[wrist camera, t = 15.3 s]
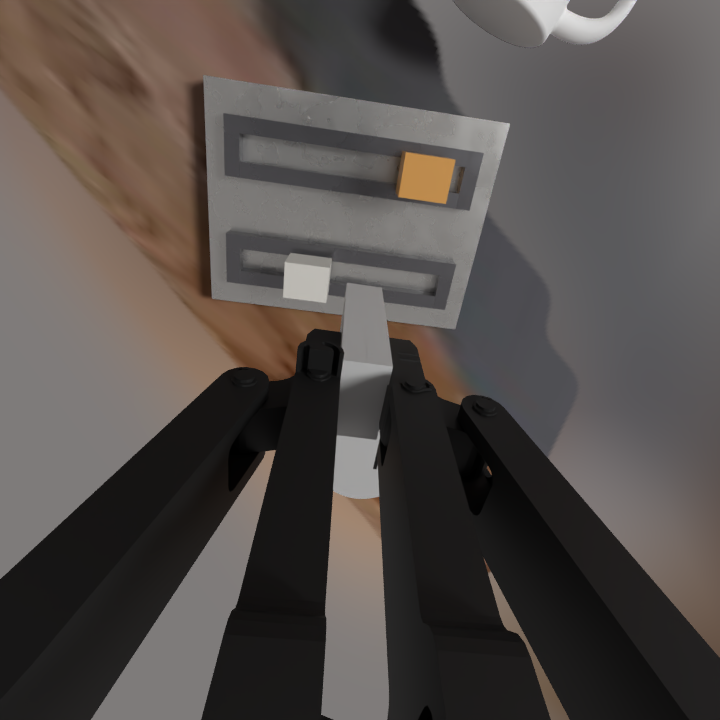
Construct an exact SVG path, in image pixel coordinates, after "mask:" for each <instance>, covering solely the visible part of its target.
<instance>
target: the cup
mask: <svg viewBox="0 0 720 720" xmlns="http://www.w3.org/2000/svg"><path fill="white" fill-rule="evenodd" d="M379 440H380V430H379V432H378V436H377V440H373V439H365V438H356V437H347V436H339V435H337V439H336V453H335V468H334V483H333V491H334V492H336V493H338V494H340V495H343V496H346V497H350V498H357V499H368V498H375V497H379V480H378V466H377V469H373V466H374V462H375V457H376V453H377V449H378V444H379Z"/></svg>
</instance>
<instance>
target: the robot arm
mask: <svg viewBox="0 0 720 720" xmlns="http://www.w3.org/2000/svg"><path fill="white" fill-rule="evenodd" d="M379 430H380V440H379V444H378V449H377V453H376V457H375V462H374V466H373V469H377V466H378V480H379V500H380V520H381V539H382V558H383V577H384V578H383V579H384V598H385V616H386V617H385V618H386V638H387V657H388V678H389V711H388V719H387V720H551V719H550V716H549V713H548V710H547V707H546V704H545V701H544V698H543V695H542V691H541V688H540V685H539V682H538V679H537V676H536V673H535V669H534V666H533V663H532V660H531V657H530V655H529V652H528V650H527V647H526V645H525V643H524V641H523V640H522V639H521V638H520V636H519V635H518V634H517V633H514V632H511V631H508V630H507V629H506V628H505V627H504V625H503V623H502V621H501V618H500V615H499V611H498V608H497V604H496V601H495V597H494V594H493V590H492V586H491V583H490V580H489V576H488V572H487V569H486V565H485V562H484V559H485V561H486V563H487V565H488V566H489V568H490V570H491V572H492V574H493V576H494V578H495V579H496V581H497V583H498V585H499V587H500V589H501V591H502V593H503V595H504V596H505V598H506V600H507V602H508V604H509V606H510V608H511V610H512V611H513V613H514V615H515V617H516V619H517V621H518V623H519V625H520V627H521V628H522V630H523V632H524V634H525V636H526V638H527V640H528V642H529V644H530V645H531V647H532V649H533V651H534V653H535V655H536V656H537V659H538V660H539V662H540V664H541V666H542V668H543V670H544V672H545V674H546V676H547V677H548V679H549V681H550V683H551V685H552V687H553V689H554V691H555V692H556V694H557V696H558V698H559V700H560V702H561V704H562V706H563V708H564V709H565V711H566V713H567V715H568V717H569V719H570V720H720V658H719V657H718V655H717V654H716V653H715V652H714V651H713V650H712V649H711V647H710V646H709V645H708V644H707V643H706V642H705V640H704V639H703V638H702V637H701V636H700V635H699V634H698V632H697V631H696V630H695V629H694V628H693V626H692V625H691V624H690V623H689V622H688V621H687V620H686V618H685V617H684V616H683V615H682V614H681V612H680V611H679V610H678V609H677V608H676V607H675V606H674V604H673V603H672V602H671V601H670V600H669V599H668V597H667V596H666V595H665V594H664V593H663V592H662V590H661V589H660V588H659V587H658V586H657V585H656V584H655V582H654V581H653V580H652V579H651V578H650V576H649V575H648V574H647V573H646V572H645V571H644V570H643V568H642V567H641V566H640V565H639V564H638V563H637V561H636V560H635V559H634V558H633V557H632V556H631V554H629V552H628V551H627V550H626V549H625V547H624V546H623V545H622V544H621V543H620V542H619V541H618V539H617V538H616V537H615V536H614V535H613V534H612V532H610V530H609V529H608V528H607V527H606V525H605V524H604V523H603V522H602V521H601V520H600V518H599V517H598V516H597V515H596V514H595V513H594V512H593V510H592V509H591V508H590V507H589V506H588V504H587V503H586V502H585V501H584V500H583V499H582V498H581V497H580V495H579V494H578V493H577V492H576V491H575V489H574V488H573V487H572V486H571V485H570V484H569V482H568V481H567V480H566V479H565V478H564V477H563V476H562V475H561V473H560V472H559V471H558V470H557V469H556V467H555V466H554V465H553V464H552V463H551V462H550V460H549V459H548V458H547V457H546V456H545V455H544V453H543V452H542V451H541V450H540V449H539V448H538V446H537V445H536V444H535V443H534V442H533V441H532V439H531V438H530V437H529V436H528V435H527V434H526V432H525V431H524V430H523V429H522V428H521V427H520V426H519V424H518V423H517V422H516V421H515V420H514V419H513V417H512V416H511V415H510V414H509V413H508V412H507V410H506V409H505V408H504V407H503V406H502V405H500V404H499V403H498V402H496V401H494V400H492V399H491V398H488V397H485V396H479V395H471V396H466V397H465V398H463V399H462V402H461V405H459V404H455V403H452V402H449V401H446V400H444V399H441V398H440V397H438V396H437V393H436V389H435V388H434V386H433V384H431V383H430V382H429V381H428V380H426V379H425V377H424V373H423V369H422V365H421V363H420V358H419V354H418V350H417V347H416V346H415V345H414V344H413V343H412V342H411V341H409V340H402V339H395V338H389V335H388V328H387V320H386V313H385V306H384V299H383V292H382V288H381V287H374V286H367V285H360V284H353V283H347V285H346V292H345V299H344V306H343V313H342V321H341V328H340V332H335V331H328V330H320V329H314V330H312V331H311V332H310V333H309V334H307V338H306V341H304V342H302V343H300V345H299V346H298V351H297V363H296V373H295V375H294V376H292V377H290V378H288V379H285V380H279V381H269V379H268V376H267V375H266V374H265V373H264V372H262V371H260V370H257V369H255V368H249V367H239V368H234V369H231V370H228V371H226V372H225V373H223V374H222V375H221V376H220V377H219V378H218V379H216V380H215V381H214V382H213V383H212V384H211V385H210V386H209V387H208V388H207V389H206V390H204V391H203V392H202V393H201V394H200V395H199V396H198V397H197V398H196V399H195V400H194V401H192V402H191V403H190V404H189V405H188V406H187V407H186V408H185V409H184V410H183V411H182V412H181V413H180V414H178V416H176V417H175V418H174V419H173V420H172V421H171V422H170V423H169V424H168V425H167V426H165V427H164V428H163V429H162V430H161V431H160V432H159V433H158V434H157V435H156V436H155V437H154V438H152V439H151V440H150V441H149V442H148V443H147V444H146V445H145V446H144V447H143V448H142V449H141V450H140V451H138V452H137V454H135V455H134V456H133V457H132V458H131V459H130V460H129V461H128V462H127V463H126V464H124V465H123V466H122V467H121V468H120V469H119V470H118V471H117V472H116V473H115V474H114V475H113V476H112V477H110V478H109V479H108V480H107V481H106V482H105V483H104V484H103V485H102V486H101V487H100V488H99V489H97V491H95V492H94V493H93V494H92V495H91V496H90V497H89V498H88V499H87V500H85V502H83V503H82V504H81V505H80V506H79V507H78V508H77V509H76V510H75V511H74V512H73V513H72V514H70V515H69V516H68V517H67V518H66V519H65V520H64V521H63V522H62V523H61V524H60V525H58V527H57V528H55V529H54V530H53V531H52V532H51V533H50V534H49V535H48V536H47V537H46V538H44V539H43V540H42V541H41V542H40V543H39V544H38V545H37V546H36V547H35V548H34V549H33V550H31V551H30V552H29V553H28V554H27V555H26V556H25V557H24V558H23V559H22V560H21V561H20V562H19V563H17V565H15V566H14V567H13V568H12V569H11V570H10V571H9V572H8V573H7V574H6V575H5V576H3V577H2V578H1V579H0V720H91V718H92V717H93V715H94V714H95V712H96V711H97V709H98V708H99V706H100V705H101V703H102V702H103V700H104V699H105V697H106V696H107V694H108V692H109V691H110V690H111V688H112V687H113V685H114V684H115V682H116V680H117V679H118V678H119V676H120V674H121V673H122V671H123V670H124V669H125V667H126V665H127V664H128V662H129V661H130V659H131V658H132V656H133V655H134V653H135V652H136V650H137V649H138V647H139V646H140V644H141V643H142V641H143V640H144V638H145V637H146V635H147V634H148V632H149V631H150V629H151V628H152V626H153V624H154V623H155V622H156V620H157V618H158V617H159V615H160V614H161V612H162V611H163V609H164V608H165V606H166V605H167V603H168V602H169V600H170V599H171V597H172V596H173V594H174V593H175V591H176V590H177V588H178V587H179V585H180V584H181V582H182V581H183V579H184V577H185V576H186V575H187V573H188V572H189V570H190V568H191V567H192V565H193V564H194V562H195V561H196V559H197V558H198V556H199V555H200V553H201V552H202V550H203V549H204V547H205V546H206V544H207V543H208V541H209V540H210V538H211V537H212V535H213V534H214V532H215V531H216V529H217V527H218V526H219V525H220V523H221V522H222V520H223V518H224V517H225V515H226V514H227V512H228V511H229V509H230V508H231V506H232V505H233V503H234V502H235V500H236V499H237V497H238V495H239V494H240V493H241V491H242V490H243V488H244V487H245V485H246V484H247V482H248V480H249V479H250V478H251V476H252V475H253V473H254V471H255V470H256V468H257V467H258V465H259V464H260V462H261V461H262V459H263V458H264V455H265V451H270V450H276V452H275V456H274V460H273V464H272V468H271V472H270V476H269V480H268V484H267V488H266V492H265V496H264V500H263V504H262V508H261V512H260V516H259V520H258V524H257V528H256V532H255V536H254V540H253V544H252V548H251V552H250V557H249V560H248V563H247V567H246V572H245V576H244V579H243V583H242V587H241V591H240V596H239V599H238V602H237V605H236V608H235V609H233V610H232V611H231V614H230V616H229V618H228V622H227V625H226V628H225V632H224V635H223V639H222V643H221V647H220V650H219V654H218V658H217V662H216V666H215V670H214V673H213V678H212V681H211V685H210V688H209V692H208V696H207V700H206V704H205V708H204V711H203V715H202V719H201V720H333V719H330V718H327V717H325V716H323V715H321V706H322V691H323V690H322V689H323V675H324V659H325V642H326V617H325V600H326V585H327V571H328V556H329V541H330V527H331V512H332V497H333V483H334V468H335V453H336V439H337V435H339V436H347V437H356V438H365V439H373V440H377V436H378V432H379ZM487 466H489V468H490V470H491V473H492V475H491V474H490V473H489V471H488V470H487ZM483 557H484V558H483Z"/></svg>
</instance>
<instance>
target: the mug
mask: <svg viewBox="0 0 720 720" xmlns="http://www.w3.org/2000/svg"><path fill="white" fill-rule="evenodd" d="M453 1H454V3H455V4H456V5H457V6H458V8H459V9H460V10H461V11H462V12H463V13H464V14H465V15H466V16H467V17H468V18H469V19H471V20H472V21H473V22H474V23H476V24H477V25H478V26H479V27H481V28H482V29H484V30H485V31H487V32H488V33H490V34H492V35H493V36H495V37H497V38H499V39H501V40H503V41H505V42H507V43H510V44H512V45H515V46H519V47H524V48H535V47H538V46H541V45H542V44H543V43H544V42H545V41H546V39H547V37H548V36H549V34H551V35H553V36H554V37H556V38H558V39H560V40H562V41H564V42H567V43H571V44H576V45H586V44H591V43H594V42H596V41H599V40H600V39H602V38H604V37H606V36H607V35H608V34H610V33H611V32H612V31H613V30H614V29H615V28H616V27H617V26H618V25H619V24H620V23H621V22H622V21H623V20H624V19H625V17H626V16H627V15H628V13H629V12H630V10H631V9H632V7H633V6H634V4H635V3H636V1H637V0H618V2H617V3H616V5H615V6H614V7H613V9H612V10H611V11H610V12H609V13H608V14H607V15H606V16H604V17H601V18H597V19H591V18H585V17H582V16H579V15H576V14H575V13H573V12H571V11H569V10H568V9H567V4H568V3H569V1H570V0H453Z"/></svg>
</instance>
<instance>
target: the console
mask: <svg viewBox="0 0 720 720" xmlns="http://www.w3.org/2000/svg"><path fill="white" fill-rule="evenodd" d="M203 81H204V107H205V133H206V159H207V185H208V211H209V237H210V263H211V289H212V299H219V300H227V301H235V302H243V303H251V304H259V305H267V306H275V307H283V308H291V309H299V310H306V311H314V312H322V313H330V314H338V315H342V313H343V306H344V299H345V292H346V285H347V283H353V284H360V285H367V286H374V287H381V288H382V292H383V299H384V306H385V313H386V320H387V321H394V322H402V323H410V324H418V325H426V326H434V327H441V328H449V329H455V328H456V324H457V320H458V316H459V313H460V309H461V305H462V301H463V298H464V294H465V290H466V287H467V283H468V279H469V275H470V272H471V268H472V264H473V260H474V257H475V253H476V249H477V245H478V242H479V238H480V234H481V230H482V227H483V223H484V219H485V215H486V212H487V208H488V204H489V200H490V197H491V193H492V189H493V186H494V182H495V178H496V174H497V171H498V167H499V163H500V159H501V156H502V152H503V148H504V144H505V141H506V137H507V133H508V129H509V126H510V124H509V123H502V122H496V121H490V120H483V119H477V118H471V117H464V116H458V115H452V114H445V113H439V112H433V111H427V110H420V109H414V108H408V107H401V106H395V105H389V104H382V103H376V102H370V101H363V100H357V99H351V98H345V97H338V96H332V95H326V94H319V93H313V92H307V91H300V90H294V89H288V88H281V87H275V86H269V85H263V84H256V83H250V82H244V81H237V80H231V79H225V78H218V77H212V76H206V75H203ZM402 151H406V152H413V153H419V154H426V155H433V156H439V157H446V158H451V159H454V160H455V165H454V170H453V174H452V179H451V183H450V188H449V192H448V197H447V201H446V204H442V203H435V202H429V201H422V200H415V199H408V198H401V197H398V196H397V194H396V186H397V180H398V174H399V167H400V161H401V155H402ZM290 253H296V254H304V255H311V256H319V257H326V258H332V263H331V273H330V282H329V292H328V296H327V301H326V303H322V302H314V301H307V300H299V299H291V298H283V288H284V267H285V261H286V259H287V258H288V256H289V254H290Z"/></svg>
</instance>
